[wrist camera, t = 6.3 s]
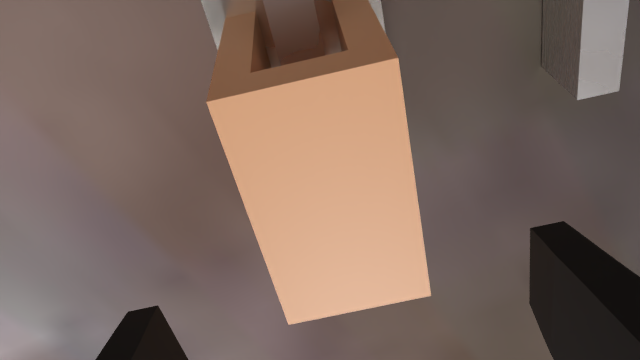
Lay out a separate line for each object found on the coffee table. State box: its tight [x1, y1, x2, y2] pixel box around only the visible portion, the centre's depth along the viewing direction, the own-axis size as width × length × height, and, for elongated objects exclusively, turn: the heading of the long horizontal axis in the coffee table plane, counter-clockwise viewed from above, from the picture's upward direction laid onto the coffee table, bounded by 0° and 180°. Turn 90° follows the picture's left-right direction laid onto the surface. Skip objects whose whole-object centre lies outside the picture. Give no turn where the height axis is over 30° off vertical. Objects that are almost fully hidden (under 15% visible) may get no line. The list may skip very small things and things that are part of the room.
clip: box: [206, 0, 431, 325], centre depth 15 cm, size 4×7×6 cm, turn 12°
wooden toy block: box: [541, 0, 629, 100], centre depth 16 cm, size 1×3×2 cm, turn 12°
